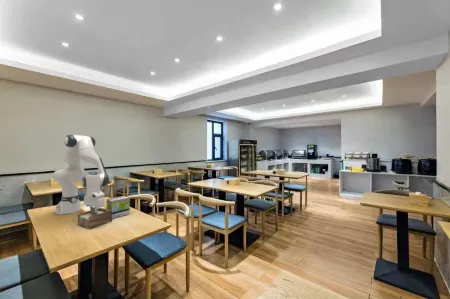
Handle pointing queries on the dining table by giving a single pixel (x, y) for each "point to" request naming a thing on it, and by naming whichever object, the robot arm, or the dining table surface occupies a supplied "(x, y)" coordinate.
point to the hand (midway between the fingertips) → (93, 211)
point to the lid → (91, 214)
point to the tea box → (119, 206)
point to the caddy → (95, 219)
